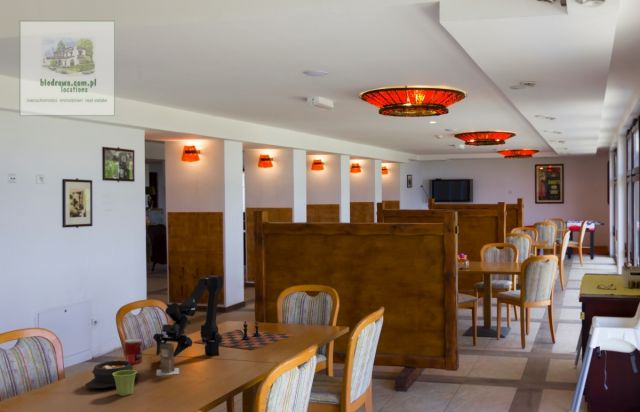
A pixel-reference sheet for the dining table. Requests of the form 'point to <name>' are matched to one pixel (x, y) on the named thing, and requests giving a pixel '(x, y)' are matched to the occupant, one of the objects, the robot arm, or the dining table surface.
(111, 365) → the casserole
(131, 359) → the canned food
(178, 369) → the felt mat
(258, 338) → the chessboard
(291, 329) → the dining table surface
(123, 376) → the plant pot
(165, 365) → the plain brown block
